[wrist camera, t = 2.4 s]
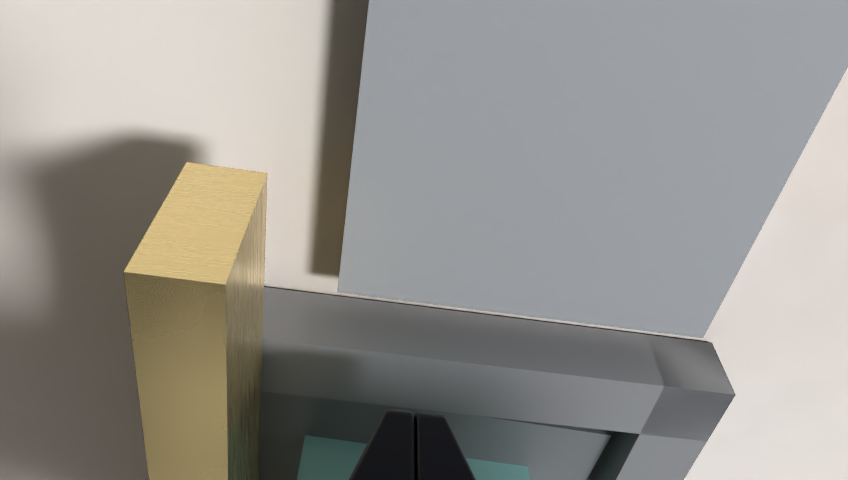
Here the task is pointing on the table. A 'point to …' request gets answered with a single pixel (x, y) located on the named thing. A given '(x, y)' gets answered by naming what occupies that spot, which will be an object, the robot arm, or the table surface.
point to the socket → (503, 373)
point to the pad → (579, 151)
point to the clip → (201, 325)
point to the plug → (355, 422)
